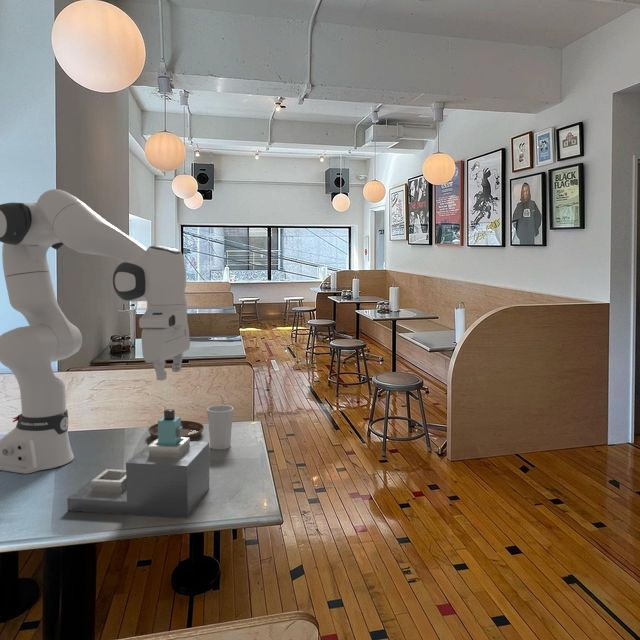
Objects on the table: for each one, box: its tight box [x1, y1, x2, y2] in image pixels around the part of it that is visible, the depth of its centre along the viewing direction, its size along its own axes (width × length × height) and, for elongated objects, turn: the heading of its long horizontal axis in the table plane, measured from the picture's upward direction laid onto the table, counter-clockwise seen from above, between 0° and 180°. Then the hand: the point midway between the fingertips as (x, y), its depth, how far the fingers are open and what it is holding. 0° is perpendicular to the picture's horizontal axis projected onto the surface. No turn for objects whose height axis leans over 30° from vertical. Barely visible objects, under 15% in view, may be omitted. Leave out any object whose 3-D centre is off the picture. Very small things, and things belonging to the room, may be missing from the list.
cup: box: [206, 404, 234, 450], centre depth 164 cm, size 8×8×12 cm
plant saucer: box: [147, 420, 205, 441], centre depth 174 cm, size 18×18×3 cm
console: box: [66, 437, 210, 519], centre depth 126 cm, size 28×16×14 cm, turn 85°
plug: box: [157, 408, 183, 446], centre depth 124 cm, size 5×4×10 cm
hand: (169, 375), depth 124 cm, fingers open, 8 cm apart
